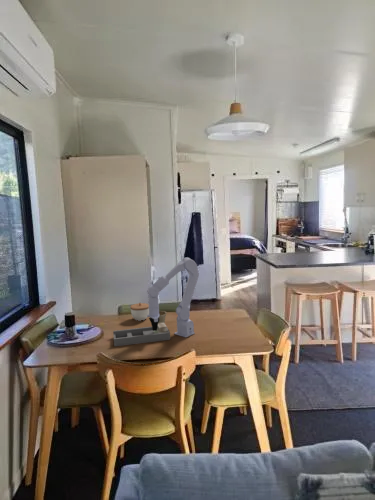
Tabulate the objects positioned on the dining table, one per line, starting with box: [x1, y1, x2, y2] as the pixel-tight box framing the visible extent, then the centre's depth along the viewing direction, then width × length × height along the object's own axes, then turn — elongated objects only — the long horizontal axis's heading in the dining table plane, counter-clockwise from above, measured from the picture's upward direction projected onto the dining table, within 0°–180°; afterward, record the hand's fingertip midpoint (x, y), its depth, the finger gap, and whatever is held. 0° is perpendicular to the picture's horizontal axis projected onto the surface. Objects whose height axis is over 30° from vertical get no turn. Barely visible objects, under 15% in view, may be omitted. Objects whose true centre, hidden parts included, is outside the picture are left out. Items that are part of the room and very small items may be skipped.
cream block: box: [157, 322, 168, 333], centre depth 201 cm, size 4×8×4 cm, turn 17°
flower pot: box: [159, 310, 167, 324], centre depth 216 cm, size 9×9×9 cm
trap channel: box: [112, 326, 171, 347], centre depth 198 cm, size 30×13×4 cm, turn 103°
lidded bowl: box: [130, 302, 149, 322], centre depth 232 cm, size 13×13×11 cm
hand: (154, 330), depth 200 cm, fingers closed
